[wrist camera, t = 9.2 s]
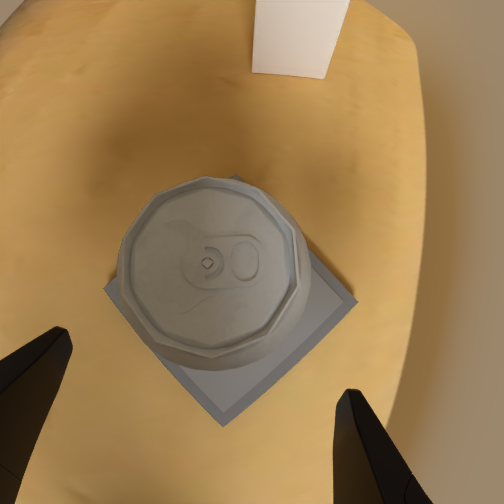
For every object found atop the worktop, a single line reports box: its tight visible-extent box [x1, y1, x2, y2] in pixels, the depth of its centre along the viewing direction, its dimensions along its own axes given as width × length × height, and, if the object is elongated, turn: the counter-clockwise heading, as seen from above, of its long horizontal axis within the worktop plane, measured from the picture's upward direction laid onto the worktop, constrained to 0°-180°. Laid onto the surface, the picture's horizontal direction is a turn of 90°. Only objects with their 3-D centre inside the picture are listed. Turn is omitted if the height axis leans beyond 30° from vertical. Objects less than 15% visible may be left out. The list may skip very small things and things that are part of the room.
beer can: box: [116, 176, 311, 371], centre depth 13 cm, size 5×5×12 cm
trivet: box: [103, 174, 358, 427], centre depth 19 cm, size 11×11×1 cm
